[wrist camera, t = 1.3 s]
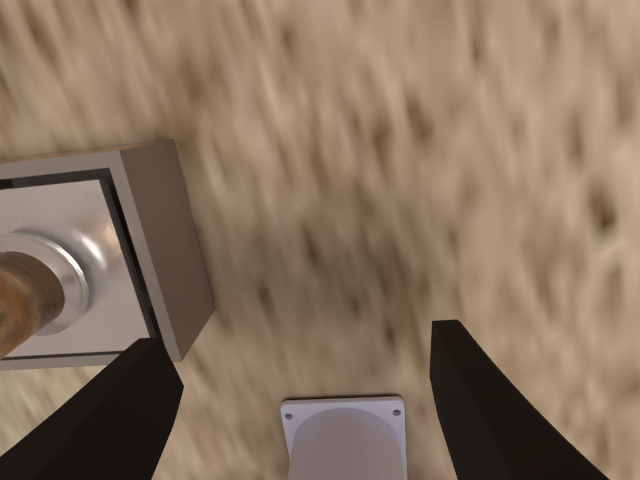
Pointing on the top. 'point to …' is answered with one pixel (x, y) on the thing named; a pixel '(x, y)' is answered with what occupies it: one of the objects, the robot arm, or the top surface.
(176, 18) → the top surface
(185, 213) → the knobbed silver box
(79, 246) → the plunger
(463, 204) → the top surface
